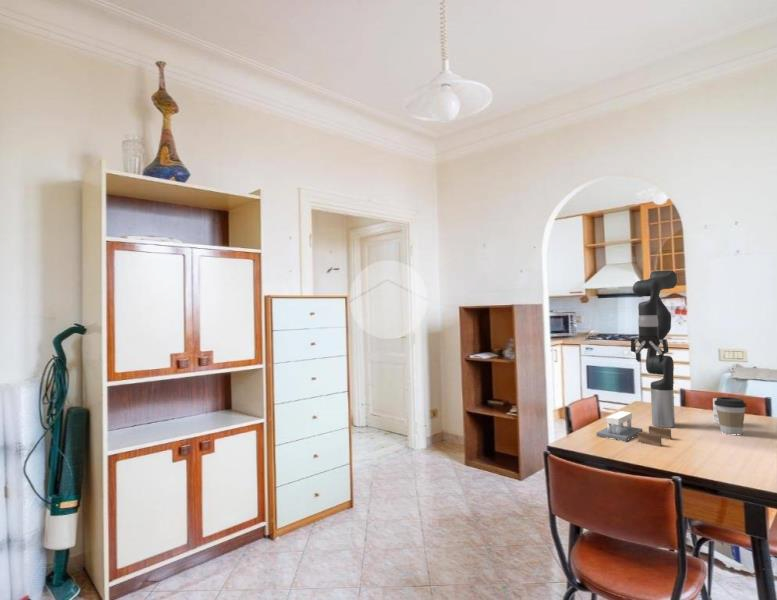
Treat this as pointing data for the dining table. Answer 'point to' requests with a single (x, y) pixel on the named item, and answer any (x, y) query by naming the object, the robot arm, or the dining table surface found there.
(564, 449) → the dining table surface
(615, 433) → the peg rack
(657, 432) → the rails
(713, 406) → the ink box
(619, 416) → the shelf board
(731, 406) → the coffee cup
